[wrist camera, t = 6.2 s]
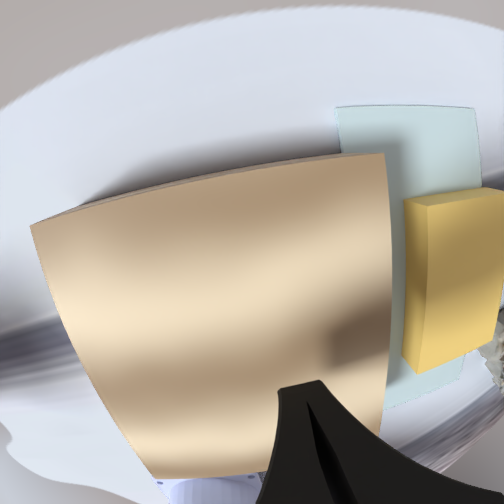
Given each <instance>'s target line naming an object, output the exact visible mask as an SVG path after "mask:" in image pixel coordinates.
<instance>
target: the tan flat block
mask: <svg viewBox="0 0 504 504" xmlns="http://www.w3.org/2000/svg"><path fill="white" fill-rule="evenodd" d="M30 229H31V233H32V236H33V240H34V243H35V247H36V250H37V254H38V257H39V260H40V263H41V266H42V269H43V272H44V275H45V278H46V281H47V284H48V287H49V289H50V292H51V295H52V297H53V300H54V302H55V305H56V308H57V310H58V313H59V315H60V317H61V320H62V322H63V324H64V327H65V329H66V331H67V334H68V336H69V338H70V340H71V342H72V345H73V347H74V349H75V351H76V353H77V355H78V357H79V359H80V361H81V363H82V365H83V367H84V369H85V371H86V373H87V375H88V377H89V379H90V380H91V382H92V384H93V386H94V388H95V390H96V391H97V393H98V395H99V397H100V398H101V400H102V402H103V404H104V405H105V407H106V409H107V410H108V412H109V414H110V415H111V417H112V418H113V420H114V422H115V423H116V425H117V426H118V428H119V429H120V431H121V433H122V434H123V436H124V437H125V439H126V440H127V441H128V443H129V444H130V446H131V447H132V449H133V450H134V452H135V453H136V454H137V456H138V457H139V459H140V460H141V461H142V463H143V464H144V465H145V467H146V468H147V469H148V471H149V472H150V473H151V474H152V476H153V477H154V478H155V479H195V478H211V477H223V476H233V475H241V474H249V473H256V472H263V471H267V470H268V466H269V462H270V458H271V454H272V450H273V446H274V441H275V435H276V428H277V422H278V394H277V391H278V390H279V389H280V388H283V387H288V386H292V385H297V384H301V383H306V382H310V381H314V380H318V379H319V380H321V381H323V383H324V384H325V385H326V387H327V388H328V389H329V390H330V392H331V393H332V394H333V395H334V396H335V397H336V398H337V400H338V401H339V402H340V403H341V404H342V405H343V406H344V407H345V408H346V409H347V410H348V411H349V412H350V413H351V414H352V415H353V416H354V417H355V418H356V419H358V420H359V421H360V422H361V423H362V424H363V425H364V426H365V427H366V428H368V429H369V430H370V431H371V432H373V433H374V434H375V435H376V436H379V430H380V424H381V418H382V411H383V404H384V397H385V389H386V380H387V371H388V360H389V348H390V333H391V311H392V242H391V220H390V205H389V193H388V182H387V172H386V163H385V155H384V153H337V154H329V155H321V156H313V157H306V158H299V159H292V160H285V161H278V162H272V163H266V164H260V165H254V166H248V167H242V168H237V169H231V170H226V171H221V172H216V173H211V174H206V175H201V176H196V177H191V178H187V179H182V180H178V181H173V182H169V183H164V184H160V185H156V186H152V187H148V188H144V189H140V190H136V191H132V192H128V193H124V194H120V195H116V196H113V197H109V198H105V199H102V200H98V201H95V202H91V203H88V204H84V205H81V206H77V207H75V208H72V209H69V210H67V211H64V212H62V213H59V214H57V215H54V216H52V217H49V218H47V219H44V220H42V221H40V222H37V223H35V224H33V225H30Z"/></svg>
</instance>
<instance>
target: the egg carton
mask: <svg viewBox="0 0 504 504" xmlns="http://www.w3.org/2000/svg"><path fill="white" fill-rule="evenodd" d="M477 349H478V350H479V352H480V354H481V356H482V357H484V358H486V359H487V361H486V362H485V365H486V366H487V368H488V369H489V370H490V372H491V373H492V375H493V376H494V378H493V382H494V383H495V384H497V385H498V386H499V387H500V388H499V390H500V392H501V394H502V395H503V396H504V308H503V310H502V311H501V312H500V313H499V314H498V317H497V322H496V327H495V331H494V335H493V339H492V341H490V342H488V343H486V344H484V345H482V346H480V347H479V348H477Z"/></svg>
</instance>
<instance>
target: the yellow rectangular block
mask: <svg viewBox="0 0 504 504" xmlns="http://www.w3.org/2000/svg"><path fill="white" fill-rule="evenodd" d="M403 201H404V217H405V242H406V289H405V314H404V330H403V342H402V353H401V356H402V357H403V358H404V359H405V361H406V362H407V363H408V364H409V366H410V367H411V368H412V369H413V371H414V372H415V373H416V374H417V375H418V374H421V373H423V372H426V371H428V370H430V369H433V368H435V367H438V366H440V365H442V364H445V363H447V362H449V361H451V360H453V359H456V358H458V357H460V356H462V355H464V354H466V353H468V352H470V351H472V350H475V349H477V348H479V347H480V346H482V345H484V344H486V343H488V342H490V341H492V339H493V335H494V331H495V327H496V322H497V317H498V312H499V307H500V302H501V296H502V290H503V283H504V191H501V190H497V189H492V188H488V187H481V188H474V189H467V190H461V191H454V192H447V193H440V194H434V195H427V196H421V197H415V198H408V199H403Z"/></svg>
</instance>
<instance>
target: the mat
mask: <svg viewBox="0 0 504 504" xmlns="http://www.w3.org/2000/svg"><path fill="white" fill-rule="evenodd" d="M334 112H335V117H336V123H337V129H338V135H339V141H340V148H341V153H384V155H385V163H386V172H387V182H388V193H389V205H390V220H391V242H392V311H391V333H390V348H389V360H388V371H387V380H386V389H385V397H384V404H383V411H384V410H387V409H389V408H392V407H395V406H398V405H400V404H403V403H406V402H408V401H411V400H413V399H416V398H418V397H421V396H423V395H425V394H428V393H430V392H432V391H435V390H437V389H439V388H441V387H444V386H446V385H448V384H450V383H452V382H454V381H456V380H458V379H459V376H460V372H461V369H462V365H463V361H464V357H465V354H464V355H462V356H460V357H458V358H456V359H453V360H451V361H449V362H447V363H445V364H442V365H440V366H438V367H435V368H433V369H430V370H428V371H426V372H423V373H421V374H418V375H417V374H416V373H415V372H414V371H413V369H412V368H411V367H410V366H409V364H408V363H407V362H406V361H405V359H404V358H403V357H402V356H401V353H402V342H403V330H404V314H405V289H406V242H405V217H404V201H403V199H408V198H415V197H421V196H427V195H434V194H440V193H447V192H454V191H461V190H467V189H474V188H481V187H482V177H481V161H480V149H479V140H478V131H477V124H476V117H475V110H474V109H470V108H457V107H440V106H359V107H341V108H335V109H334Z"/></svg>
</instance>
